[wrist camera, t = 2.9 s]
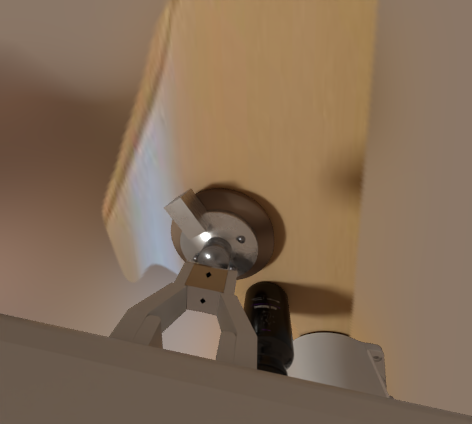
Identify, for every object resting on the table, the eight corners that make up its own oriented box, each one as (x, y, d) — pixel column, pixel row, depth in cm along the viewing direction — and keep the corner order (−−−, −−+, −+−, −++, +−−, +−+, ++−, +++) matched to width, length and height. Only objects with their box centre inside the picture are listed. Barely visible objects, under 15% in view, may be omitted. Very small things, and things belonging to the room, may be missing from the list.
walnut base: (290, 254, 25) (297, 286, 20) (211, 283, 30) (200, 313, 25) (240, 167, 21) (232, 180, 16) (156, 216, 26) (131, 238, 21)
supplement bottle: (270, 273, 27) (273, 369, 17) (296, 300, 29) (314, 403, 18) (236, 291, 30) (221, 383, 19) (262, 314, 32) (260, 411, 21)
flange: (271, 258, 24) (272, 279, 20) (211, 280, 27) (203, 301, 24) (217, 172, 20) (208, 181, 16) (154, 210, 23) (136, 224, 20)
